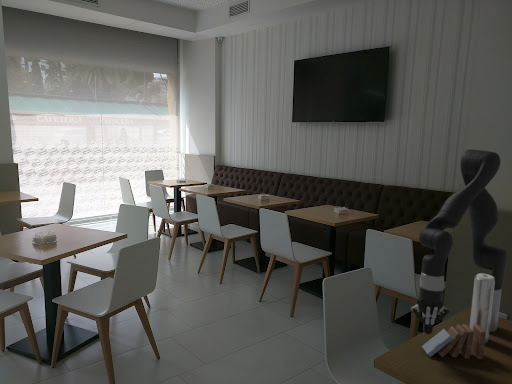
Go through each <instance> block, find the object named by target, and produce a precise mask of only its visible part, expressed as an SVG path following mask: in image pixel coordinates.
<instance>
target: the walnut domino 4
mask: <svg viewBox="0 0 512 384" xmlns="http://www.w3.org/2000/svg"><path fill="white" fill-rule="evenodd" d="M473 331H474V335H473V341H472V347H471V353H472V354H473V356H475V358H476V359H477V360H484V350H485V344H486V343H485V335H486V332H485V331H484V330H483V329H482V328H481V327H480V326H479V325H473Z"/></svg>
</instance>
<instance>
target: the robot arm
mask: <svg viewBox="0 0 512 384" xmlns="http://www.w3.org/2000/svg"><path fill="white" fill-rule="evenodd" d="M500 167H501V157H500V155H499V154H498V153H497V152H494V151H489V150H483V149H473V148H472V149H466V150H465V151H463V153H462V155H461V158H460V172H461V175H462V180H463V184H464V187H462V188H460V189H459V190H457V191H455V192H454V193H453V194H451V195H450V196H449V197H448V198H447V199H446V200H445V202H444V203H443V204H442V206H441V208H440V209H439V211H438V213H437V214H436V215H435V216H434V217H433V218H432V219H431V220H430V221H429V222H428V223H427V224H426V225H424V227H422V229H421V230H420V233H419V237H418V240H419V243H420V244H421V246H423V247H425V248H428V249H430V250H434V252H433V254H425V255H424V256H423V258H422V262H421V264H422V265H421V273H420V277H419V286H418V288H419V292H418V300H417V302H416V304H415V305H411V306H409V308H410V310H411V311H412V313H413V314H414V315H415V317H416V318H417V319H418V321H419V323H422V331H423V333H424V334H425V335H431V334H432V333H433V332H434V330H433V329H434V324H440V322H441V321H443V319H444V318H446V316H447V315H449V313H450V311H449V309H448V308H447V307H445V306H444V303H443V300H444V299H443V298H444V288H445V269H446V262H447V260H448V257H449V255H450V253H451V250H452V247H453V243H454V239H453V236H452V234H451V233H450V232H449V231H446V229H454V228H456V227H457V226H458V225H459V223H460V222H461V220H462V218H463V217H464V215H465V214H466V212H467V210H468V217H469V222H470V228H471V229H470V230H471V237H472V238H471V243H472V244H471V245H472V246H471V247H472V248H471V249H472V260H473V264H474V265H475V266H476V267H478V268H481V269H485V270H491V273H489V274H488V275H491V276H493V277H494V279H495V286H494V294H493V303H492V312H491V321H490V329H489V333H494V332H496V331H498V330H497V329H498V324H499V316H500V307H501V297H502V296H501V295H502V289H503V282H504V279H505V278H504V276H505V270H506V267H507V266H506V265H507V260H508V259H507V258H508V256H507V255H508V254H507V251H506V249H504V248H502V247H498V246H492V245H489V244H486V243H485V239H486V237H487V236H488V235H489V233H491V232H492V230H493V229H494V228H495V227H496V226H497V223H498V222H499V221H498V220H499V214H498V205H497V202H496V200H495V199H494V197H493V196H492V195H491V194H490V192H489V191H488V190H487V189H486V187H487V186H488V184H490V182H491V181H492V180H493V178H494V177H495V176H496V174H497V173H498V171H499V168H500ZM420 311H421V312H422V314H420V313H419V312H420ZM421 315H422V316H421Z"/></svg>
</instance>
